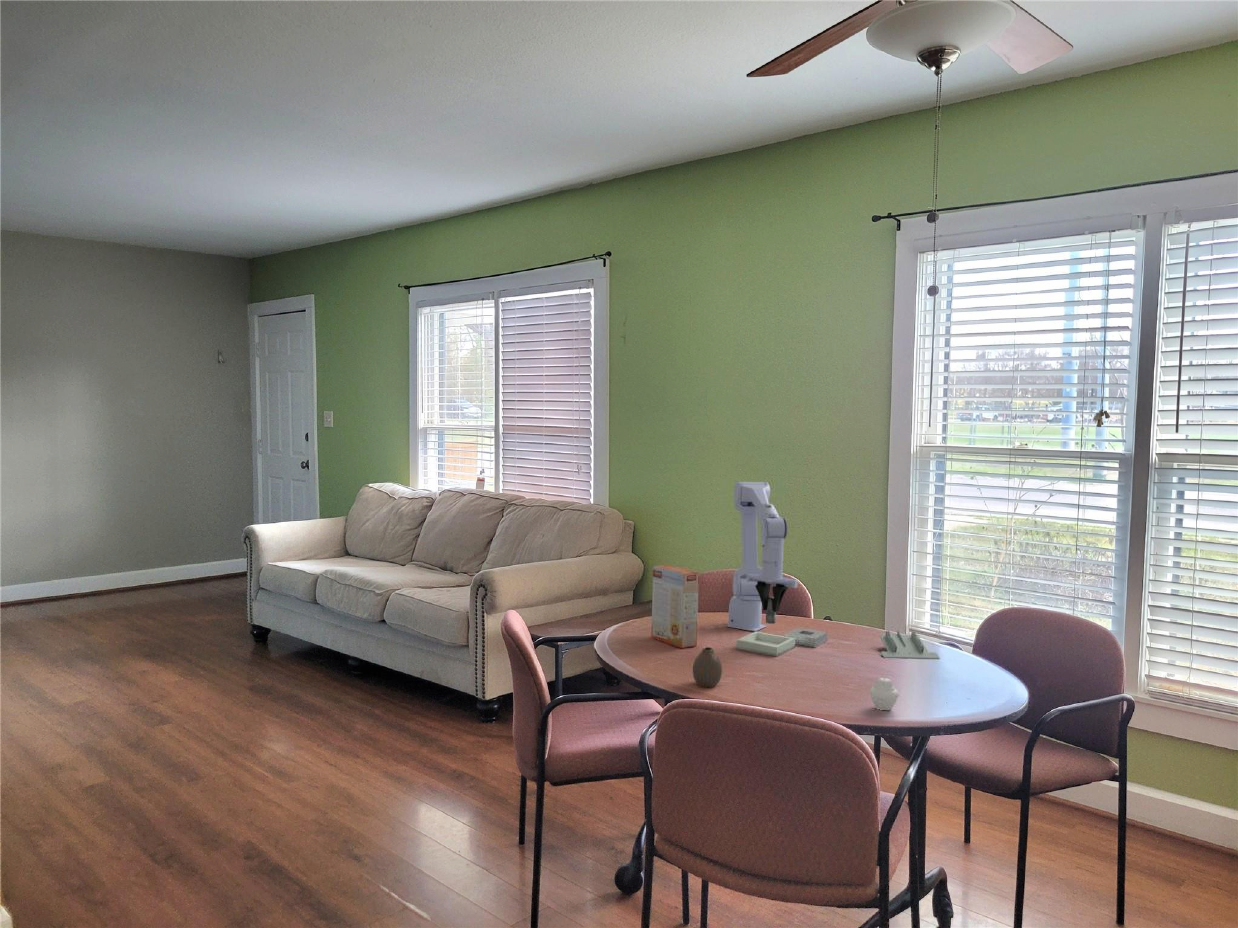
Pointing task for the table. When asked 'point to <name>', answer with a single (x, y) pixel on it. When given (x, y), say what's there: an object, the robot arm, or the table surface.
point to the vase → (707, 668)
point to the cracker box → (675, 605)
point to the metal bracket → (905, 646)
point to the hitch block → (807, 636)
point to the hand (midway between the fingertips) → (770, 610)
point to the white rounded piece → (884, 694)
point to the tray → (766, 643)
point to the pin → (770, 610)
